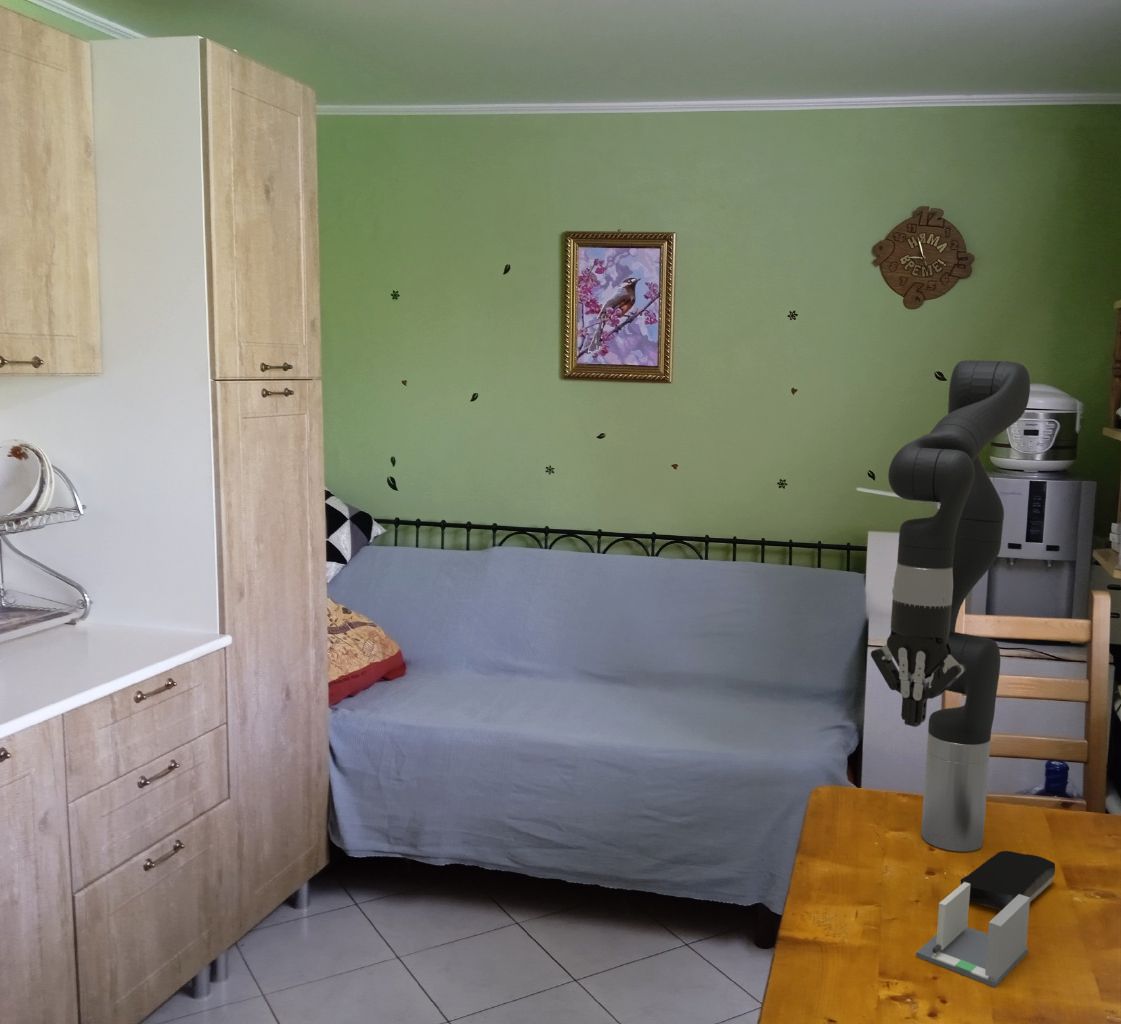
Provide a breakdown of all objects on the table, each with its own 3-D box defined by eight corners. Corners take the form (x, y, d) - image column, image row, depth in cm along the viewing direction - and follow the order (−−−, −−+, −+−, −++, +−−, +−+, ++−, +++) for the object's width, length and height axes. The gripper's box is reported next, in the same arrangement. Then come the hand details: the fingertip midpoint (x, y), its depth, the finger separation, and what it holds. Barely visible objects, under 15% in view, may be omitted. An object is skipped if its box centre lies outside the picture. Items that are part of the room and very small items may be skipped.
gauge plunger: (961, 924, 145) (964, 881, 144) (967, 926, 144) (970, 883, 143) (931, 951, 138) (934, 906, 137) (937, 954, 137) (940, 908, 136)
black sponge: (1014, 924, 148) (1016, 898, 148) (953, 902, 154) (955, 877, 154) (1058, 885, 160) (1060, 861, 160) (1000, 866, 166) (1002, 843, 166)
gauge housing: (951, 924, 147) (955, 871, 146) (1027, 952, 141) (1032, 896, 140) (915, 956, 139) (919, 899, 138) (995, 987, 133) (1000, 927, 132)
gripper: (982, 602, 145) (972, 730, 147) (888, 587, 153) (879, 708, 155) (959, 610, 139) (949, 742, 141) (863, 594, 148) (854, 719, 150)
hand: (912, 724), depth 148 cm, fingers closed
